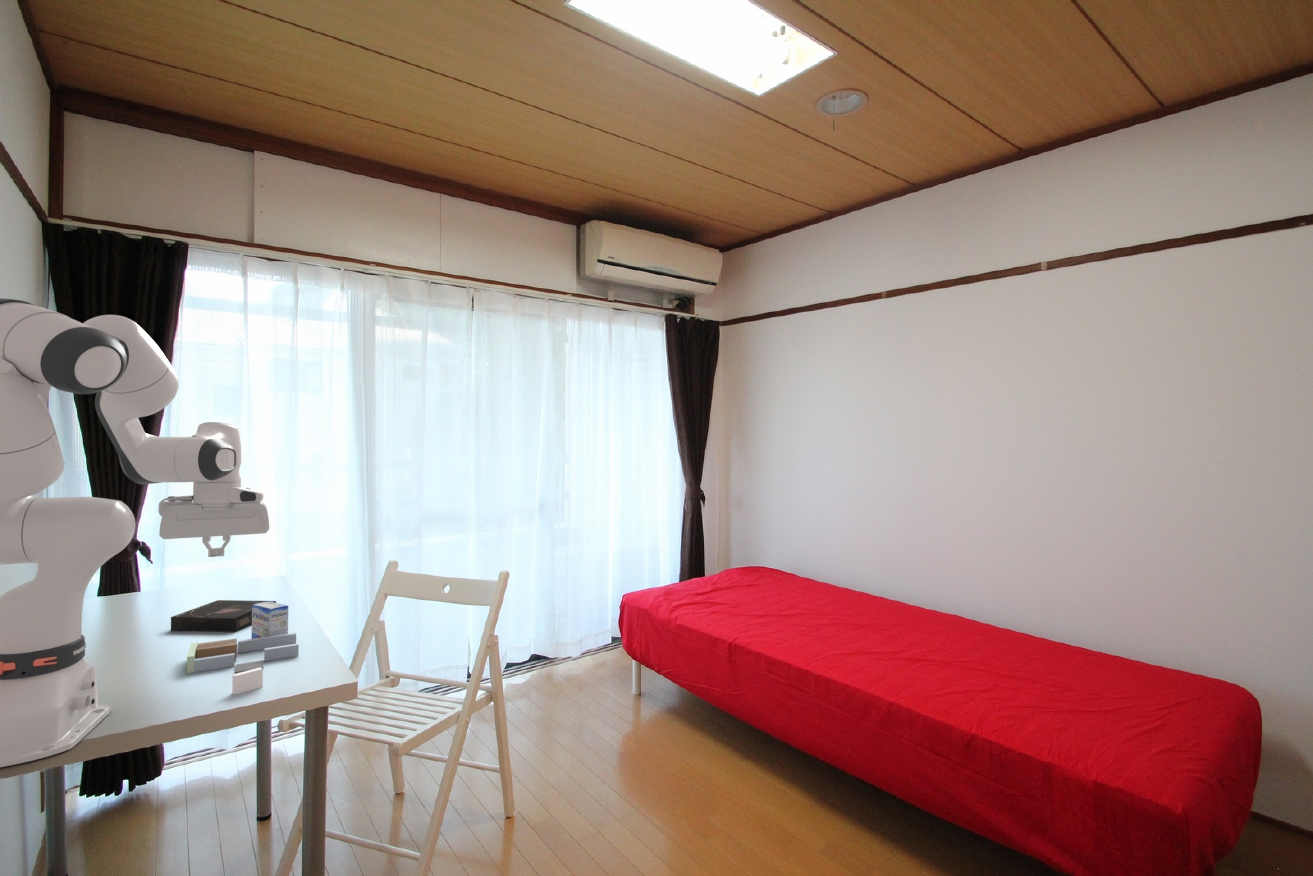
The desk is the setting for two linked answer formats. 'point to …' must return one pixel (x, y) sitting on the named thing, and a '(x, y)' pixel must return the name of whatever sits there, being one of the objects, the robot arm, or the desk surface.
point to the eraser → (247, 680)
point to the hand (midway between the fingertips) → (216, 556)
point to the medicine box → (269, 619)
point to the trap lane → (272, 644)
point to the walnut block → (216, 648)
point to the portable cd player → (216, 617)
